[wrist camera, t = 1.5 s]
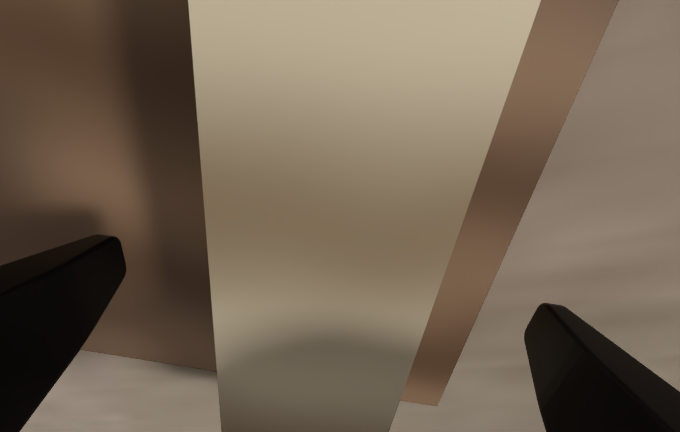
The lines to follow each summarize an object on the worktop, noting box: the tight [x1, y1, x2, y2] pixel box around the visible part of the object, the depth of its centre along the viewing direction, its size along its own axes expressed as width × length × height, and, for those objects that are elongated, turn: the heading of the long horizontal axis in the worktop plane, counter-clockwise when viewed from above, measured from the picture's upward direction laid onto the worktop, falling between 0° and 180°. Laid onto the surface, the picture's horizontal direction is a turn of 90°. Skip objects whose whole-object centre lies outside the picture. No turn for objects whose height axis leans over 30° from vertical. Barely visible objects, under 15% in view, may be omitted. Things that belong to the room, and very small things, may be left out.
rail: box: [188, 0, 541, 432], centre depth 7 cm, size 20×4×4 cm, turn 173°
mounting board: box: [0, 0, 619, 406], centre depth 10 cm, size 21×21×2 cm
